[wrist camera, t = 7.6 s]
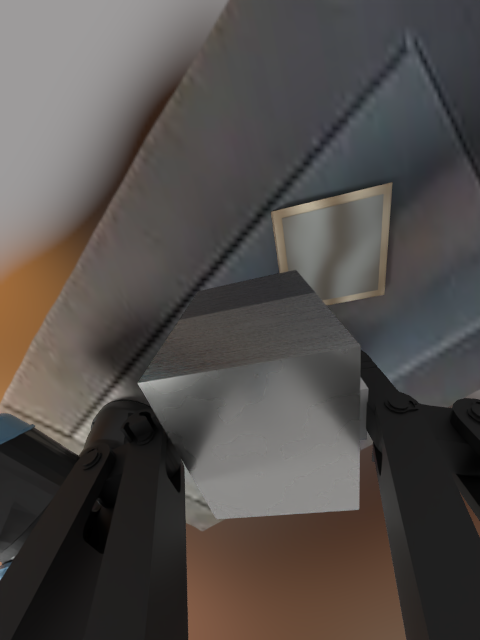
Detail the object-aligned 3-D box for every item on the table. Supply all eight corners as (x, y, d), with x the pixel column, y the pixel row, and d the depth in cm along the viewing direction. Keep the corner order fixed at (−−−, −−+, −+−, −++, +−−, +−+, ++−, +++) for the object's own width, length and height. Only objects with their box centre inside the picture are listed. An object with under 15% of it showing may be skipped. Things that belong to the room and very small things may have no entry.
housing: (198, 291, 13) (137, 383, 6) (295, 269, 12) (360, 345, 5) (230, 387, 17) (216, 518, 9) (309, 375, 16) (359, 509, 9)
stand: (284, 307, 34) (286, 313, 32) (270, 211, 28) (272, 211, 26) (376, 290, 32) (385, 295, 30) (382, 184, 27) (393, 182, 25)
